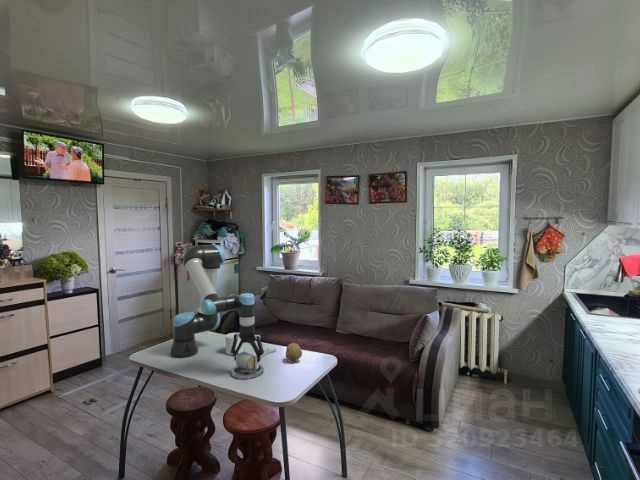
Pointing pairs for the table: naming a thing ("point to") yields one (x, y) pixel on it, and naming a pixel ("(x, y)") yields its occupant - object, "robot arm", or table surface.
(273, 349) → the adjustable wrench
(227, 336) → the toilet tissue
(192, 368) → the table surface
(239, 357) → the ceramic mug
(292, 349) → the natural sponge
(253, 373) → the flange seat
